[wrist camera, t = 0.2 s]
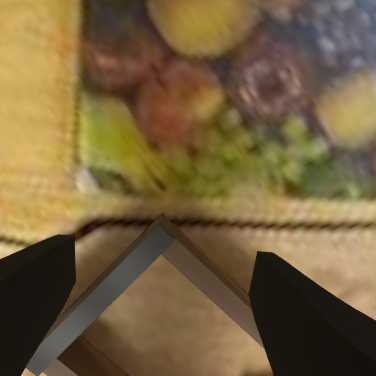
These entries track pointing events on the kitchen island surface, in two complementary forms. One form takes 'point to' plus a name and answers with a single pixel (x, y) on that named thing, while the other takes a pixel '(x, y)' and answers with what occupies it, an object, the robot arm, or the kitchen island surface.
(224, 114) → the kitchen island surface
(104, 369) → the dock
